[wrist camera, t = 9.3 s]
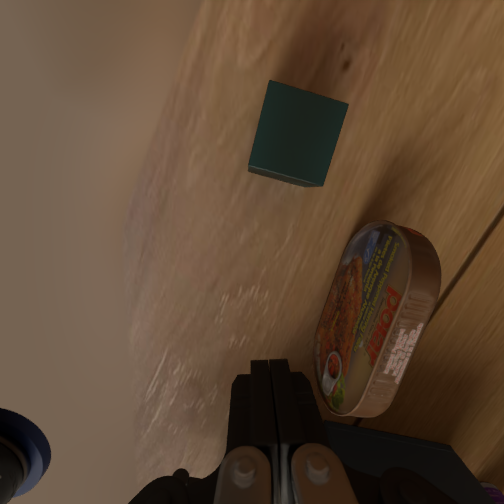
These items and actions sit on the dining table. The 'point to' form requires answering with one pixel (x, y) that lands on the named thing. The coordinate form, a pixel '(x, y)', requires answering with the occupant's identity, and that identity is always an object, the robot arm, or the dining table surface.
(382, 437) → the cabinet
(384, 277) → the tin
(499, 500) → the container
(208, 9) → the dining table surface
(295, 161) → the block
